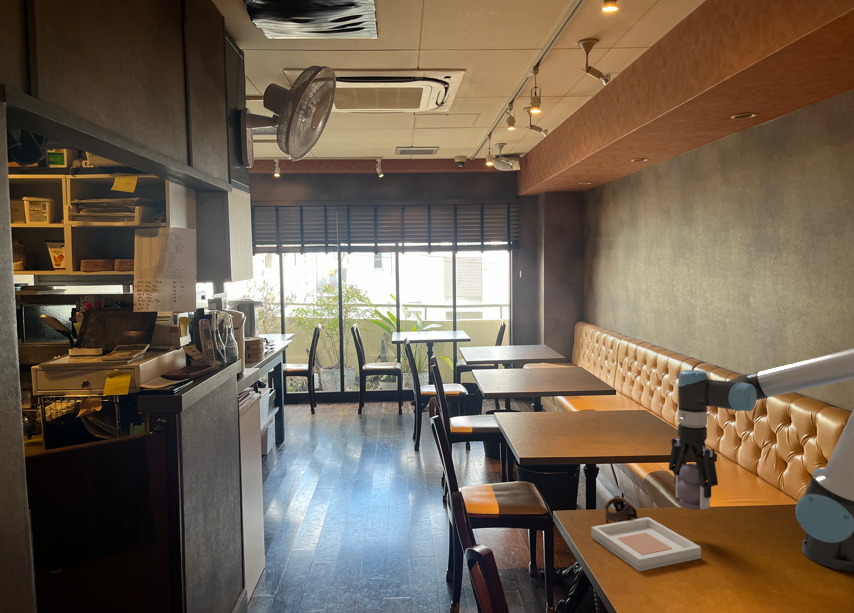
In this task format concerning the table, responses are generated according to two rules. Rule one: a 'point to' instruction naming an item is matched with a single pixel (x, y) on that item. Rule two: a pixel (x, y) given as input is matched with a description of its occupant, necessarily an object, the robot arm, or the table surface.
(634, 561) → the tray
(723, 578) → the table surface
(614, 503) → the pottery mug
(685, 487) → the cat figurine
